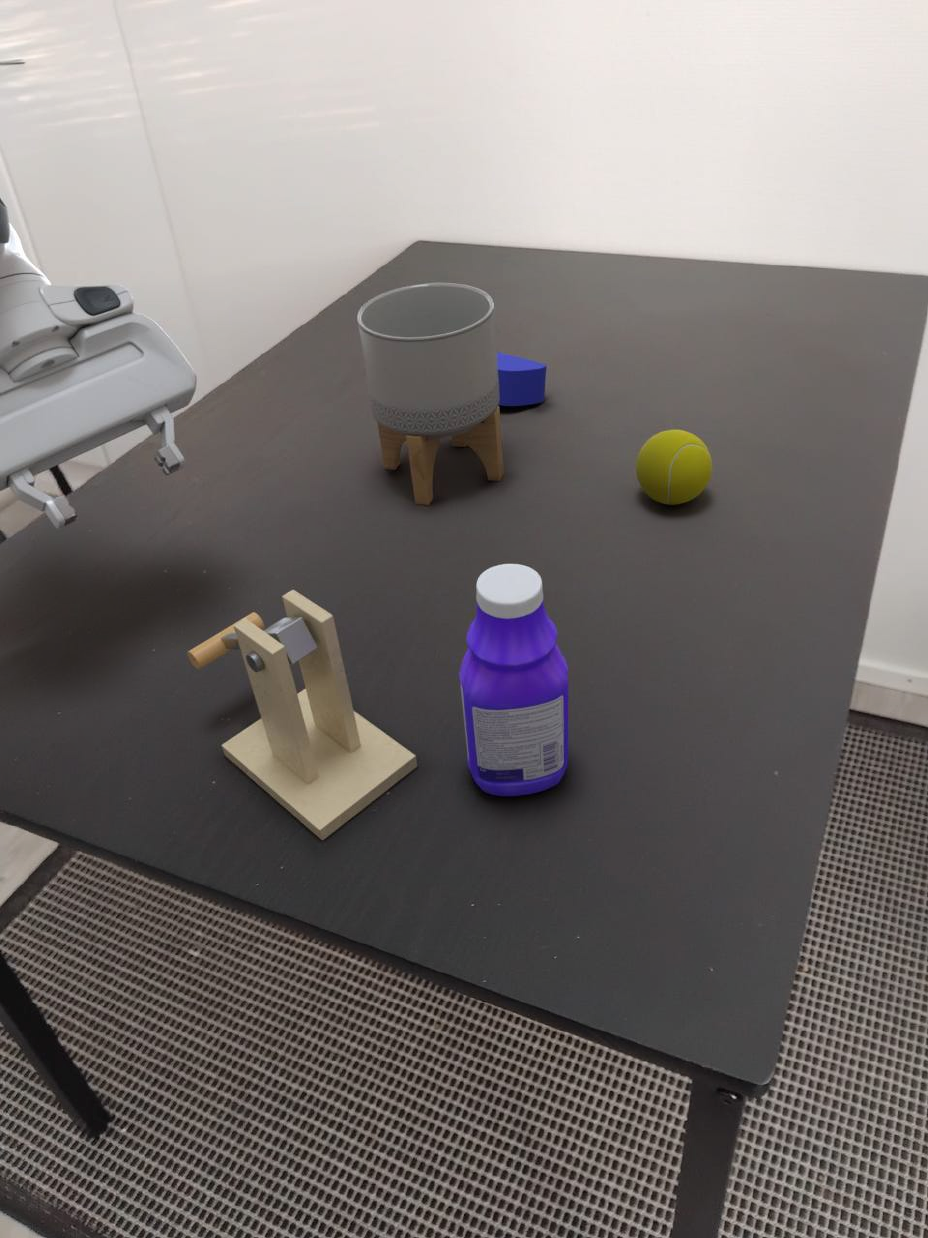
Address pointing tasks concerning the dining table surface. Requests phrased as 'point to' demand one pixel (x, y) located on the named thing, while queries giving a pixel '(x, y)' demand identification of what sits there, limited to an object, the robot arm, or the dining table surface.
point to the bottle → (514, 687)
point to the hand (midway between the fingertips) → (123, 495)
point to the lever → (284, 631)
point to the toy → (520, 380)
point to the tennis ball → (673, 467)
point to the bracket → (311, 729)
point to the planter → (433, 376)
